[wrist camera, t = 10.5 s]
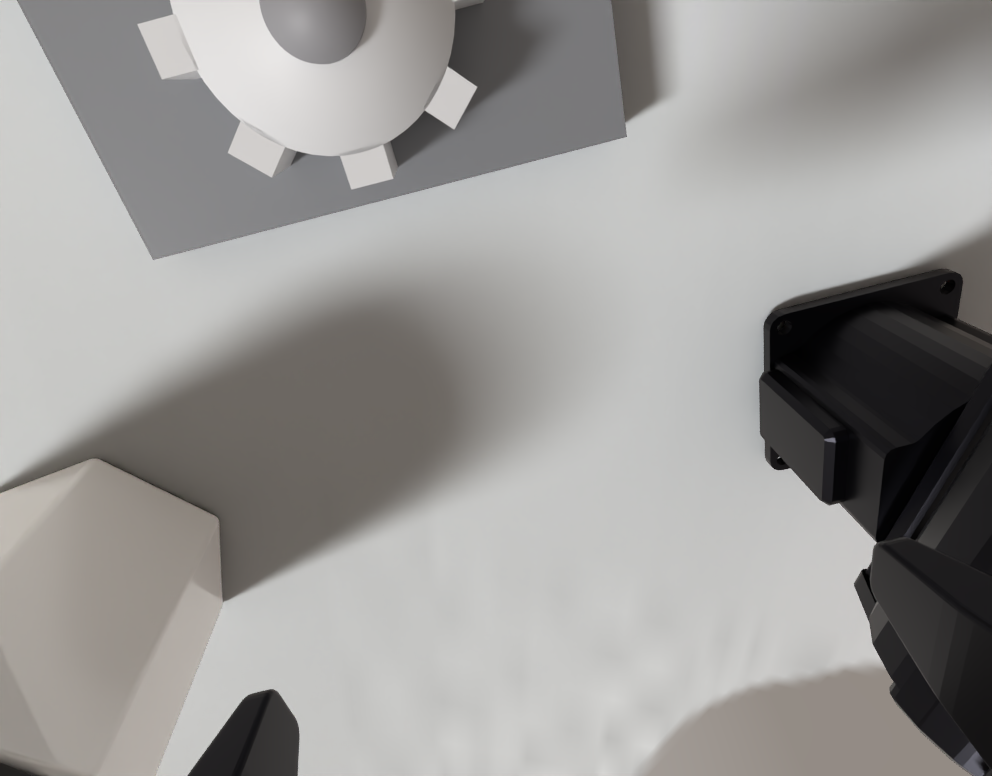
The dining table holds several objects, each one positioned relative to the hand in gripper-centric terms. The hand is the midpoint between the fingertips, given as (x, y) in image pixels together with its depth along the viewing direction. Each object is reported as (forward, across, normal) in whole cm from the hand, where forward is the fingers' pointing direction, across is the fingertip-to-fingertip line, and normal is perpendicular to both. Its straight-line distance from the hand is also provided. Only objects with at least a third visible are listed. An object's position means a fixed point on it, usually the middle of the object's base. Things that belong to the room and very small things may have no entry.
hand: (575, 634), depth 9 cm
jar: (+12, +16, +5) cm, 21 cm away
